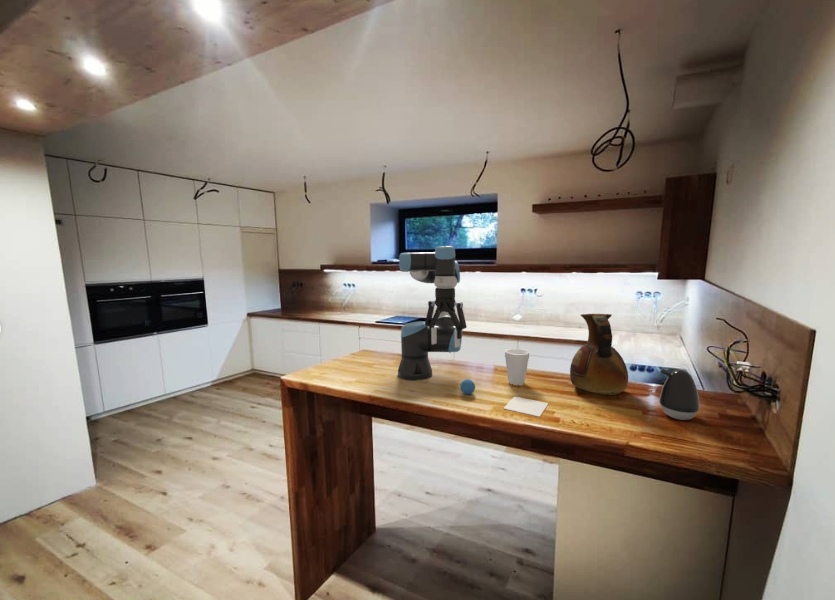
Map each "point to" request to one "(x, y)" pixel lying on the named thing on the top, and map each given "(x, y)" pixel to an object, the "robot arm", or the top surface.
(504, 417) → the top surface
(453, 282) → the robot arm
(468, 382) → the ball
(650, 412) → the top surface
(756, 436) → the top surface
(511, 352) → the foam cup
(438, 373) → the top surface
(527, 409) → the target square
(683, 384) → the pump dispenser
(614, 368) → the ceramic pitcher
